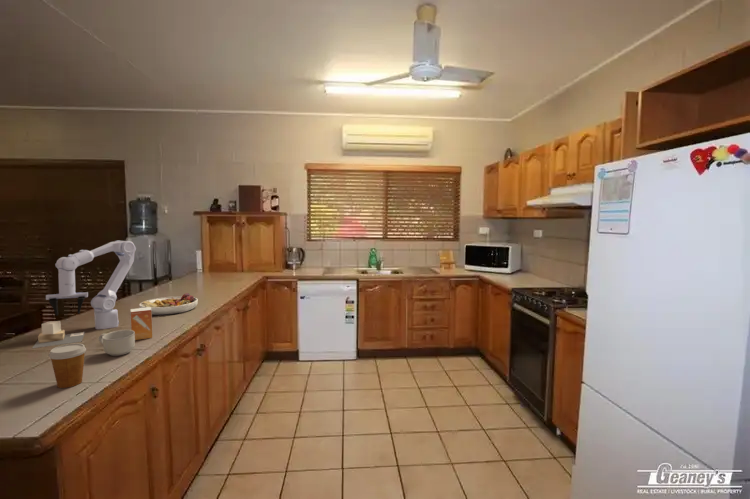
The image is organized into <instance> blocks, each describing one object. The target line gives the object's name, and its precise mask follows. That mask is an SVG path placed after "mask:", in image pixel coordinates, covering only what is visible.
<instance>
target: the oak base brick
mask: <svg viewBox="0 0 750 499" xmlns="http://www.w3.org/2000/svg"><path fill="white" fill-rule="evenodd" d="M65 334H66V332H65V329H61V331H60V332H58V333H55V334H42V331H41V332H40V333H39V334H38V340H39V343H43V342H50V341H58V340H63V339H64V337H65ZM38 340H37V341H38Z"/></svg>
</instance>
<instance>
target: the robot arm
mask: <svg viewBox="0 0 750 499" xmlns="http://www.w3.org/2000/svg"><path fill="white" fill-rule="evenodd" d="M136 250H137V247H136V245H135V244H134V242H133V241H132V240H114V241H110V242H107V243H105V244H103V245H101V246H99V247H96V248H94V249H91V250H88V249H80V250H79V251H78V252H75V253H73V254H71V253H70V254H68V256H62V257H60V258H58V259H57V260H56V263H55V264H54V265H55V268H57V271H58V293H56V294H55V293H54V294H46V295H45V300H46V301H47V300H48V303H49V304H50V306H51V307H52V309H53V311H54V314H55V316H59V307H58V305H59V299H60V300H61V299H76V298H77V315H80V314H81V310H82V306H83V303H84V301H85V299H86V298H88V297H89V292H88V291H87V292H76V269H77V268H78V267H81V266H82V265H85V264H88V263H90V262H92V261H93V260H94V258H96V257H98V256H102V255H105V254H107V253H111V252H113V253H115V255H116V256H117V257H118V259H119V262H118V263H117V266H116V267H115V269H114V271H113V272H112V274H111V276H110V277H109V280H108V281H107V283H106V285H104V287H103V289H101V290H100V291H99V292H98V293H97V295H95V296H94V297H93V298H92V299H91V300H90V305H91V307H92V308H93V313H94V329H95V330H107V329H112V328H113V329H114V328H119V324H120V321H119V313H118V309H116V308H115V309H114V307H115V306H116V300H117V299H118V297H117V292H118V290H119V288H120V287H121V286H122V283H123V281H124V280H125V278H126V277H127V274H128V273H129V271H130V269H131V267H132V266H133V263H134V261H135V252H136Z"/></svg>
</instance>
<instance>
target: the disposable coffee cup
mask: <svg viewBox="0 0 750 499" xmlns="http://www.w3.org/2000/svg"><path fill="white" fill-rule="evenodd" d="M86 352H87V348H86V347H85V344H83V343H69V344H62V345H58V346H56V347H53V348H52V349H50V351H49V354H48V357H49V359H50V360H51V364H52V369H53V372H54V373H53V374H54V377H55V381H56V386H57V388H59V389H65V388H66V389H67V388H71V387H75V386H77V385H80V384H81V383H83V375H84V374H83V373H84V365H85V353H86Z"/></svg>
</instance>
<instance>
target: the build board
mask: <svg viewBox="0 0 750 499" xmlns="http://www.w3.org/2000/svg"><path fill="white" fill-rule="evenodd" d="M85 335H86V331H83V332H75V333H74V332H72V333H67V334H66V333H65V337H64V339H63V340H58V341H50V342H43V343H39V340H37V341H36V342H35V343H34V344H33V346H32V349H37V348H38V349H39V348H44V347H45V348H46V347H52V346H62V345H68V344H77V343H81V342H82V341H83V339H84V338H85V337H84V336H85Z"/></svg>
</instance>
